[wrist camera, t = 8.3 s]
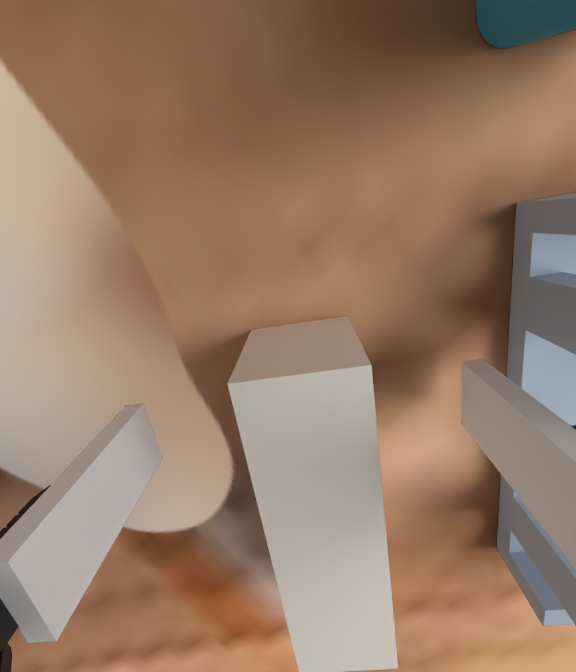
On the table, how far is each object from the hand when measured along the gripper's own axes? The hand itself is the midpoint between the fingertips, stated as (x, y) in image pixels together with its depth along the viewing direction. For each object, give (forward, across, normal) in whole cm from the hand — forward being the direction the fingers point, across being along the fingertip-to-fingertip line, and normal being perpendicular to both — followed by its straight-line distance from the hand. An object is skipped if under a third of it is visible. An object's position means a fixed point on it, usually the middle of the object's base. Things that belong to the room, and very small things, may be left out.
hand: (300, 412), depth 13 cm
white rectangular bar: (+2, 0, -4) cm, 4 cm away
